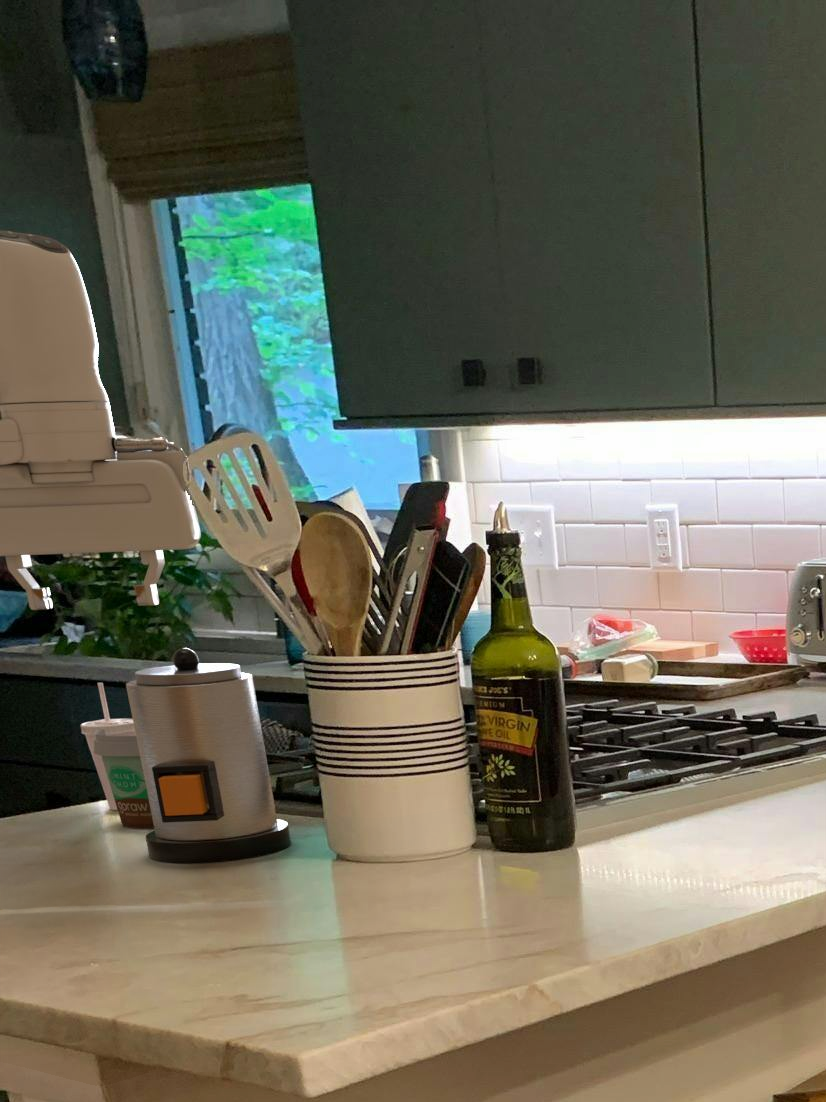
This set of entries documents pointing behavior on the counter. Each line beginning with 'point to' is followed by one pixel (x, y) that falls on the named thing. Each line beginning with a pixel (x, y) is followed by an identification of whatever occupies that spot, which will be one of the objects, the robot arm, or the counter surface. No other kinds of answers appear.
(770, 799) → the counter surface
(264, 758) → the kettle
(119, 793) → the food container
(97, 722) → the smoothie
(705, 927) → the counter surface
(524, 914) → the counter surface
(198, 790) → the switch
